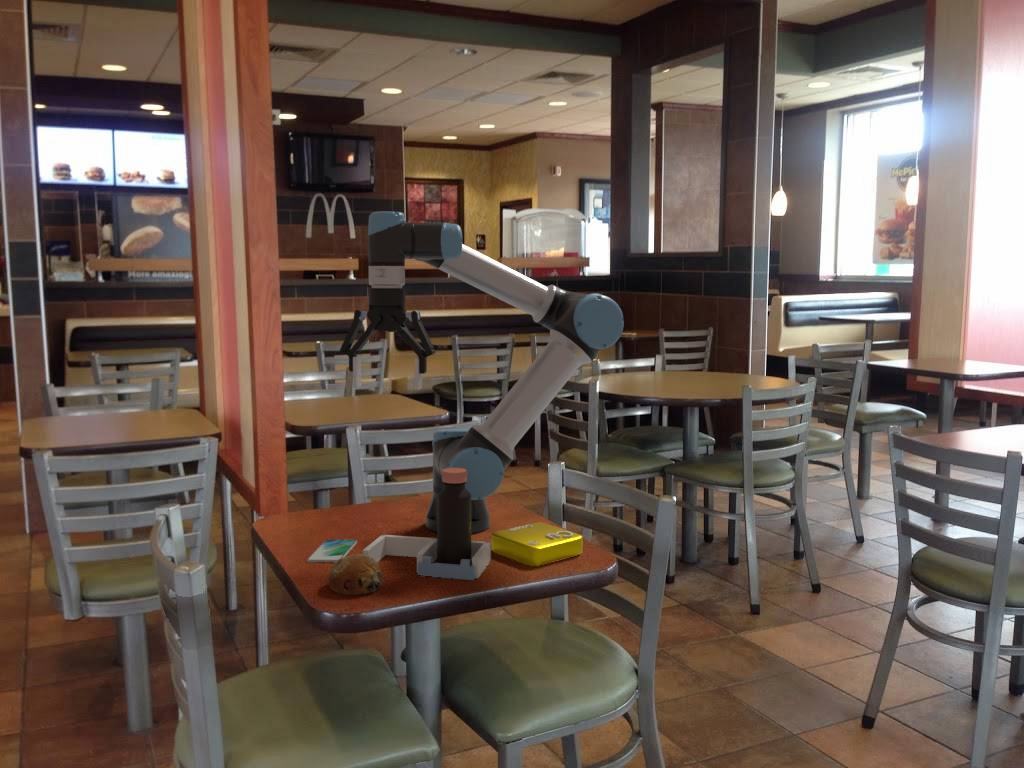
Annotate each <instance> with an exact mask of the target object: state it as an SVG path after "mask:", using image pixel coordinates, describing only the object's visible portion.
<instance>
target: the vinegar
mask: <svg viewBox="0 0 1024 768" xmlns="http://www.w3.org/2000/svg"><path fill="white" fill-rule="evenodd" d="M442 481H443V482H442V483H443V484H444V488H443V489H442V490H441V491H440V492H439V494H438V496H437V532H436V533H437V559H436V560H437V561H436V563H444V564H458V565H460V561H461V560H462V559H470V565H471V566H472V561H471V541H472V533H471V494H470V492H469V491H468V490H467V489H466V488H465V484H466V483H467V482H466V481H467V470H466V469H463V468H446V469H443V470H442Z"/></svg>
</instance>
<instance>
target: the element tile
mask: <svg viewBox="0 0 1024 768" xmlns="http://www.w3.org/2000/svg"><path fill="white" fill-rule="evenodd" d="M583 541H584V536H583V535H582V534H581V533H576V532H574V531H570V530H567V529H564V528H561V527H559V526H554V525H551V524H548V523H545V522H543V521H538V522H533V523H530V524H523V525H521V526H520V525H519V526H514V527H511V528H507V529H501V530H498V531H493V532H492V534H491V552H492V551H493V552H492V553H494V552H495V553H494V554H496V553H497V554H496V555H499V554H500V555H499V556H501V555H503V556H502V557H504V556H506V557H508V558H507V559H509V558H511V559H510V560H512V559H514V560H516V561H515V562H517V561H519V562H518V563H520V562H522V563H524V564H523V565H525V564H527V565H531V566H530V567H533V566H537V565H543V564H545V563H549V562H552V561H556V560H560V559H563V558H566V557H570V556H574V555H578V554H581V553H582V554H583V550H584V549H583V548H584V547H583V546H584V545H583V544H584V542H583ZM506 557H505V558H506ZM514 560H513V561H514ZM522 563H521V564H522ZM527 565H526V566H527ZM543 566H544V565H543ZM537 567H538V566H537Z"/></svg>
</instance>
